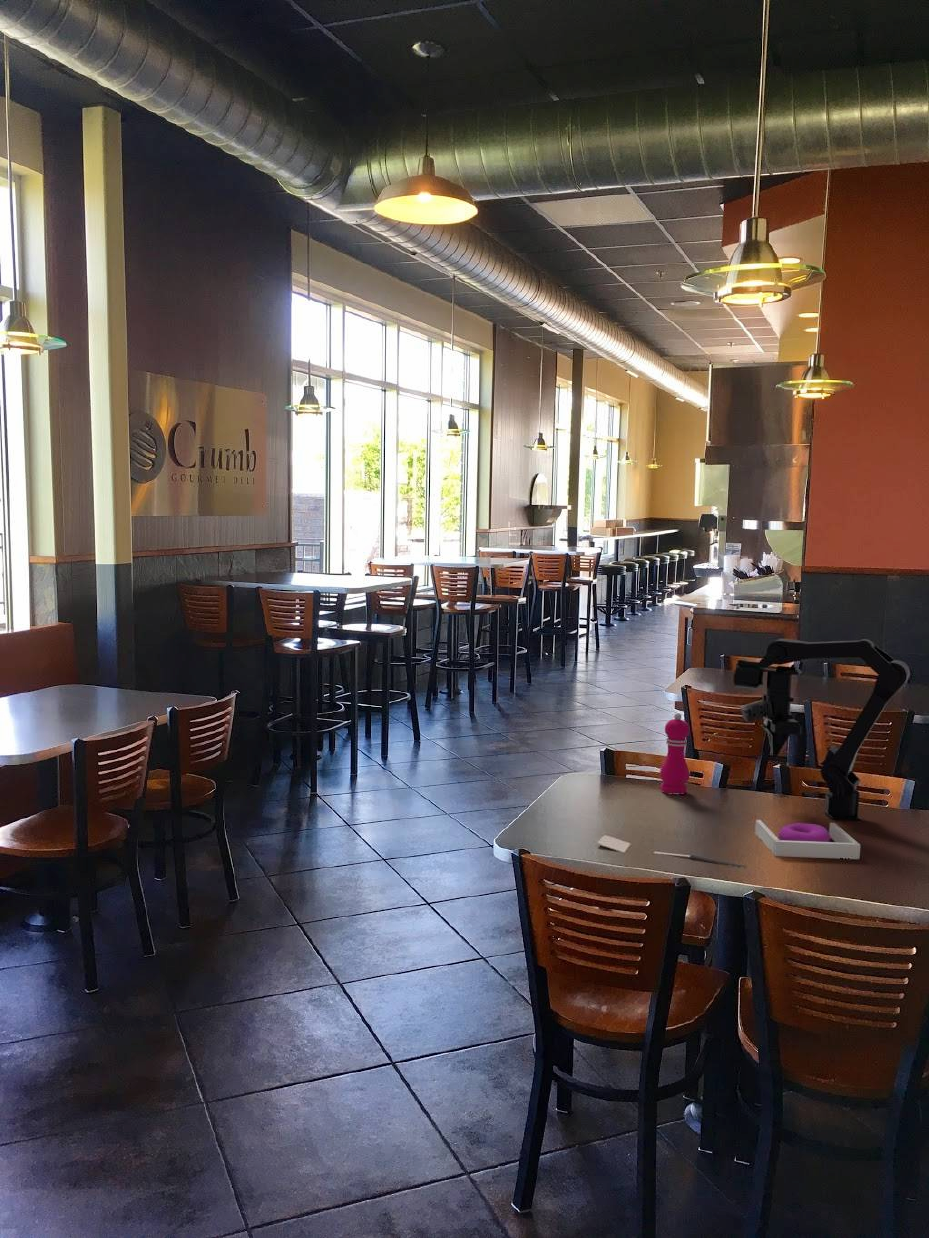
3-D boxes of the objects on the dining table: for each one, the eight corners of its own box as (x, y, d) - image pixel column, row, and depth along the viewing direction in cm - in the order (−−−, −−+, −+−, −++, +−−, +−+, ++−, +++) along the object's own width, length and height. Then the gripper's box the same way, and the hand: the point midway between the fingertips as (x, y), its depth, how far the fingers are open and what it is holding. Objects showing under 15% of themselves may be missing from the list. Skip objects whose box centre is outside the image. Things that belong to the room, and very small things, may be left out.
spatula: (604, 841, 203) (604, 834, 203) (748, 865, 192) (748, 858, 192) (596, 849, 198) (596, 842, 198) (744, 874, 186) (744, 867, 186)
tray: (833, 836, 210) (834, 822, 210) (859, 859, 196) (860, 844, 196) (755, 833, 211) (755, 819, 210) (775, 855, 196) (776, 841, 196)
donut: (791, 836, 210) (793, 816, 209) (838, 848, 203) (839, 827, 203) (770, 847, 202) (772, 825, 202) (818, 859, 195) (819, 837, 195)
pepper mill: (691, 796, 238) (695, 716, 237) (661, 795, 239) (666, 715, 237) (685, 788, 246) (689, 710, 244) (656, 787, 246) (660, 709, 244)
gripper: (734, 684, 241) (731, 745, 242) (755, 697, 222) (751, 763, 223) (779, 685, 240) (775, 747, 242) (804, 698, 222) (800, 765, 223)
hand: (774, 755), depth 233 cm, fingers closed
